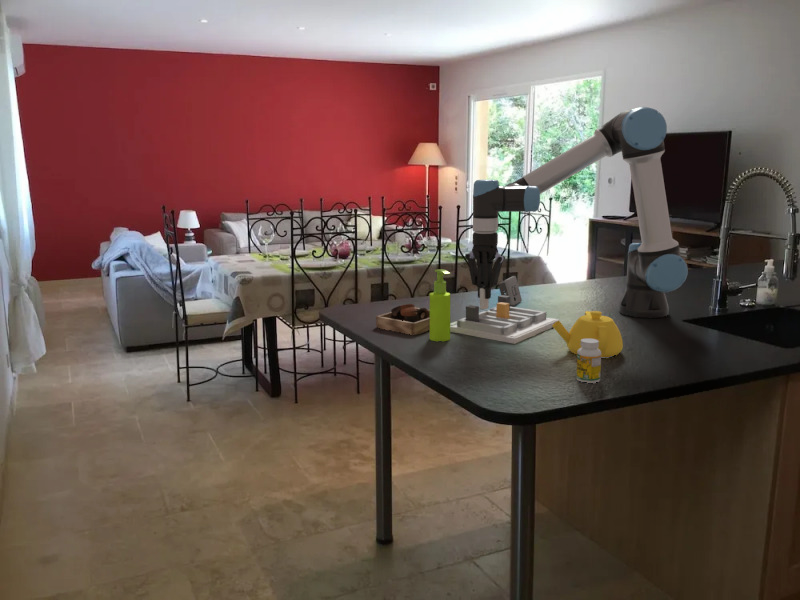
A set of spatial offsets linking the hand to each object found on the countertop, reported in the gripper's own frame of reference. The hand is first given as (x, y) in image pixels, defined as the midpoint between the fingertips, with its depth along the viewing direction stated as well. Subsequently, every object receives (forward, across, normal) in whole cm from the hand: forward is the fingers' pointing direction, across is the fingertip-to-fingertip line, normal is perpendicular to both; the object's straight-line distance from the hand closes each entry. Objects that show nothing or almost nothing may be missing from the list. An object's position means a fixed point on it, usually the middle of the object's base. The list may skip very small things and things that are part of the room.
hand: (484, 308), depth 212 cm
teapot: (+5, -38, +9) cm, 39 cm away
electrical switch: (+5, +8, -30) cm, 32 cm away
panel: (+5, -7, 0) cm, 8 cm away
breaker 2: (+3, -2, -9) cm, 10 cm away
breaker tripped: (+3, -7, 0) cm, 7 cm away
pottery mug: (+5, +16, +16) cm, 23 cm away
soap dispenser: (+5, 0, +22) cm, 23 cm away
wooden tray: (+5, +16, +15) cm, 23 cm away
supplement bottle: (+5, -48, +30) cm, 57 cm away
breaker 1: (+3, -2, +9) cm, 10 cm away
